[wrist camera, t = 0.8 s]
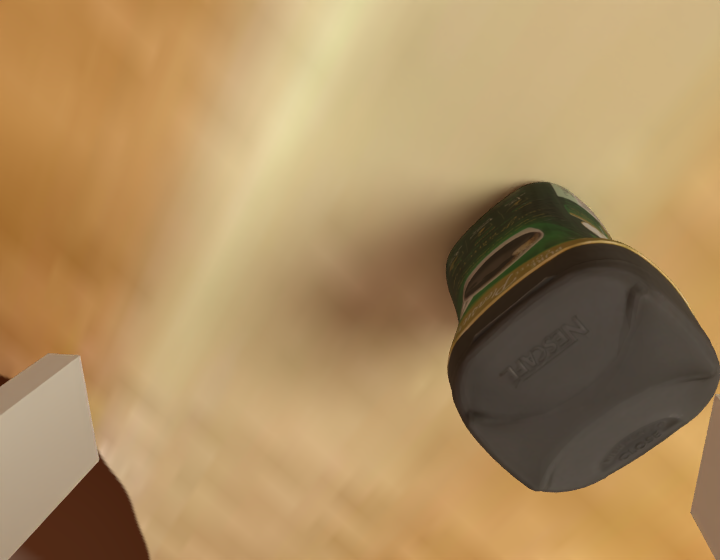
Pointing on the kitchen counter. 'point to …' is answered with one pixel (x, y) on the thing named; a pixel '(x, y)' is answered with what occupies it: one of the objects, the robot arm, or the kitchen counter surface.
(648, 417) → the coffee jar
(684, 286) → the kitchen counter surface
